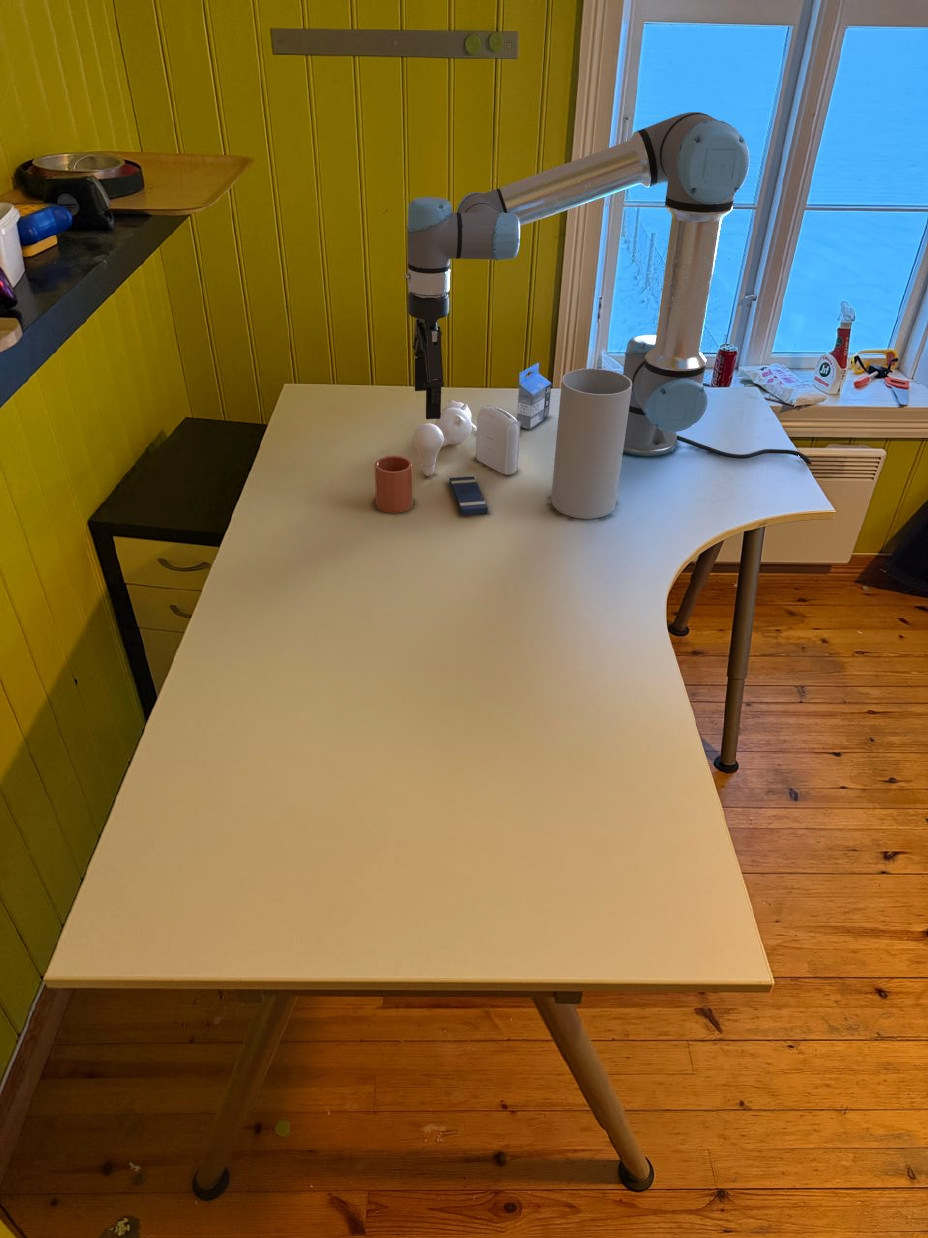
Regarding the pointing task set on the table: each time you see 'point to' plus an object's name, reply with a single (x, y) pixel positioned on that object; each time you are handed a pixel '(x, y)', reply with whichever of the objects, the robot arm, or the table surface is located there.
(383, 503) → the pot
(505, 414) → the photo printer
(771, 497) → the table surface
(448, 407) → the cat figurine
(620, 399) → the cylinder vase
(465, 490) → the towel
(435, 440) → the lightbulb
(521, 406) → the ink cartridge box
